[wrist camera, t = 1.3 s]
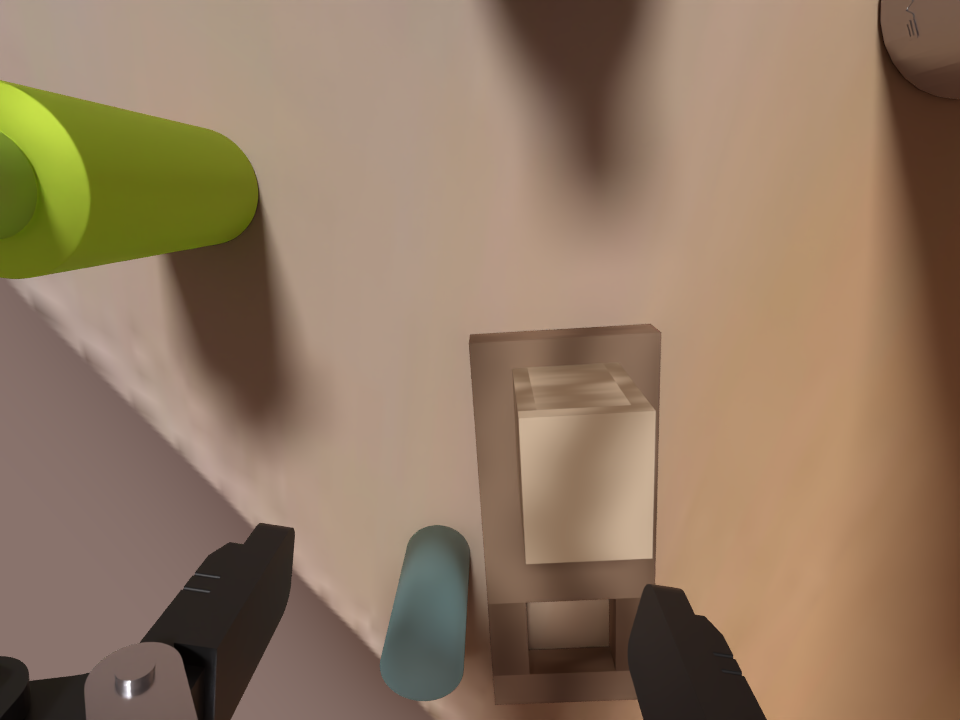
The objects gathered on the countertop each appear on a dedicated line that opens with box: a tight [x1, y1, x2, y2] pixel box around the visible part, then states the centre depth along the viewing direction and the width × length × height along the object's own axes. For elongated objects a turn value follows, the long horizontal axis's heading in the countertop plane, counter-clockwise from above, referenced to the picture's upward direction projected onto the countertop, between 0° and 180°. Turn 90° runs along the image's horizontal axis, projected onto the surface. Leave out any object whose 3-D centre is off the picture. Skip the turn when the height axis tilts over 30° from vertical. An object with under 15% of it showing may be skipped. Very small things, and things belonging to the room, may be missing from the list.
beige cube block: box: [512, 363, 656, 564], centre depth 28 cm, size 6×7×7 cm
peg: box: [380, 525, 470, 701], centre depth 31 cm, size 4×4×9 cm
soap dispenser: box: [0, 80, 258, 279], centre depth 20 cm, size 6×7×20 cm
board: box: [469, 324, 661, 705], centre depth 32 cm, size 10×24×6 cm, turn 4°
